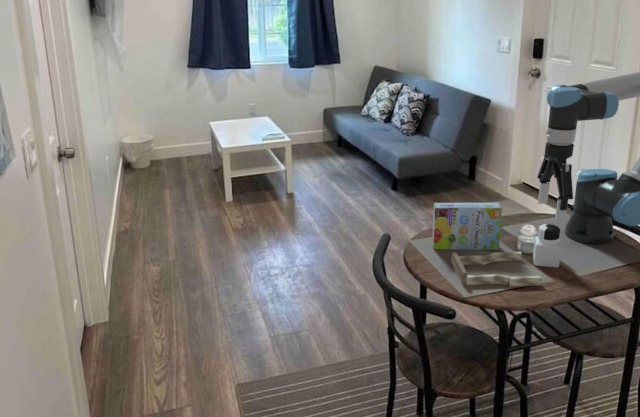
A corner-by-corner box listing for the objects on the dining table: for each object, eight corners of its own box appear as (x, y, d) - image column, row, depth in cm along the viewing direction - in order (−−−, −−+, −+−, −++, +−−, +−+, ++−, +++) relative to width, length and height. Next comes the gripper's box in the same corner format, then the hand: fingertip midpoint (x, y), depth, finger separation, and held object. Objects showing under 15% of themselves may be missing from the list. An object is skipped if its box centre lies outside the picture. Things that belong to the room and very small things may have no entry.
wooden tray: (520, 258, 179) (521, 247, 178) (540, 285, 163) (542, 273, 161) (450, 261, 179) (450, 249, 178) (463, 288, 163) (464, 275, 162)
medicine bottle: (556, 258, 179) (561, 223, 175) (558, 268, 172) (563, 232, 168) (532, 256, 181) (536, 221, 176) (533, 265, 174) (538, 230, 170)
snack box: (495, 243, 190) (499, 201, 185) (498, 251, 185) (502, 208, 180) (431, 243, 193) (433, 201, 187) (433, 250, 187) (435, 207, 182)
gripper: (531, 132, 175) (524, 197, 182) (564, 154, 151) (555, 227, 159) (555, 132, 175) (547, 196, 182) (592, 153, 151) (581, 226, 159)
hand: (551, 211), depth 170 cm, fingers open, 13 cm apart
